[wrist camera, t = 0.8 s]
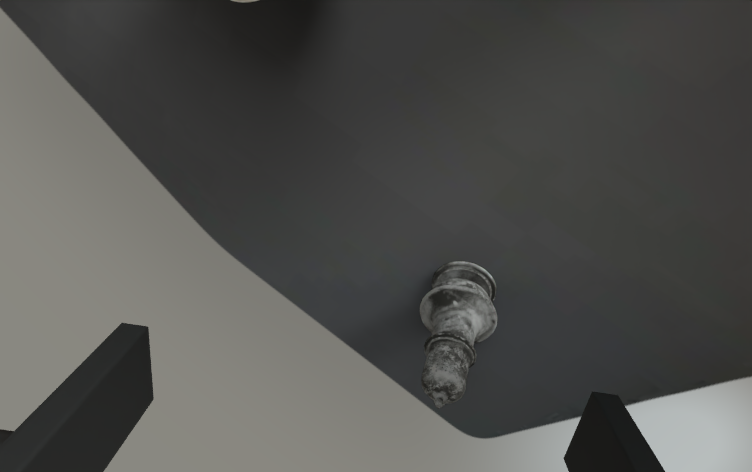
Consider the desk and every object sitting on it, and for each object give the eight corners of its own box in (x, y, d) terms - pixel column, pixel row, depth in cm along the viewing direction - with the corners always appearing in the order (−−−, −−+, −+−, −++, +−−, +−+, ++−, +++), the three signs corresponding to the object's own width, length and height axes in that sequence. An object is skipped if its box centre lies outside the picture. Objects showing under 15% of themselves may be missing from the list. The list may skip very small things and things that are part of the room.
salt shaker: (479, 325, 39) (460, 451, 29) (417, 295, 39) (378, 410, 29) (514, 278, 35) (505, 404, 26) (446, 246, 35) (412, 359, 26)
